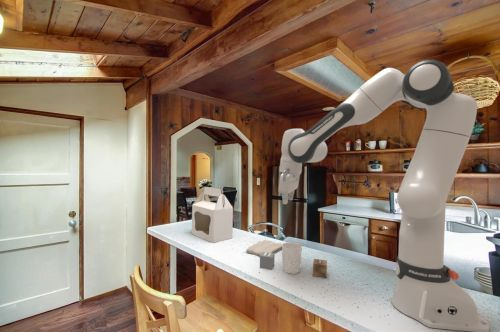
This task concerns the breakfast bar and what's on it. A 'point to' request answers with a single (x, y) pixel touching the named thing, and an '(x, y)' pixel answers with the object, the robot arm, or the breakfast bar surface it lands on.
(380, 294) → the breakfast bar surface
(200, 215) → the gable box
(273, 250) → the washcloth
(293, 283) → the breakfast bar surface
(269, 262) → the slate-grey block
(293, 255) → the white cup
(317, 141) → the robot arm
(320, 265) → the walnut block
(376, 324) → the breakfast bar surface
